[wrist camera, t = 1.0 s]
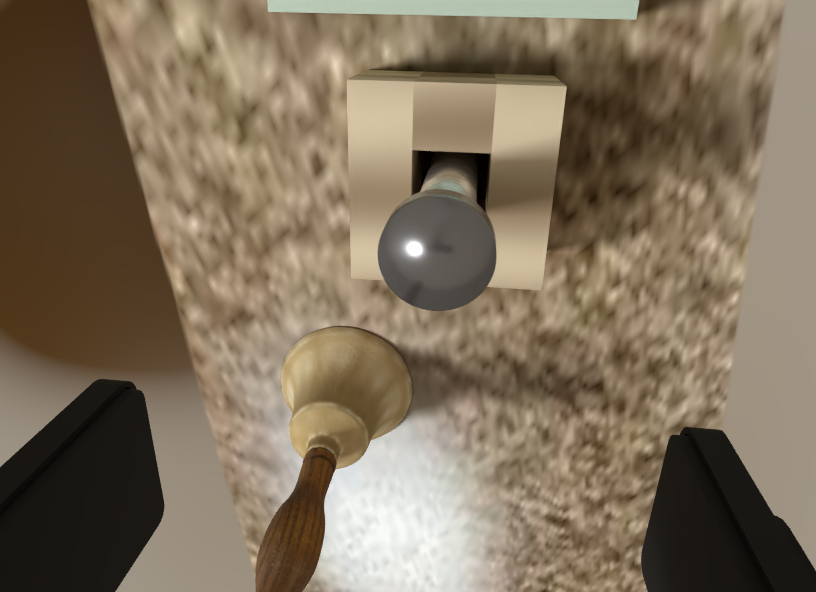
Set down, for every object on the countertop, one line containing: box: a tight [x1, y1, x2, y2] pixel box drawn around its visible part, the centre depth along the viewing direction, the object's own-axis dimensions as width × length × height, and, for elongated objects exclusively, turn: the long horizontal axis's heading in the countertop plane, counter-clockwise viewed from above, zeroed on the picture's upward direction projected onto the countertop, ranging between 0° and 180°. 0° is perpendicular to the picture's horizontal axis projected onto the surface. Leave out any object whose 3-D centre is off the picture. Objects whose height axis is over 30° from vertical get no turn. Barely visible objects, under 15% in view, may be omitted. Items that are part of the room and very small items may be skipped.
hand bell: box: [255, 327, 413, 592], centre depth 30 cm, size 8×8×16 cm
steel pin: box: [377, 151, 497, 311], centre depth 25 cm, size 4×4×13 cm
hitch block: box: [347, 70, 567, 290], centre depth 29 cm, size 9×9×5 cm
